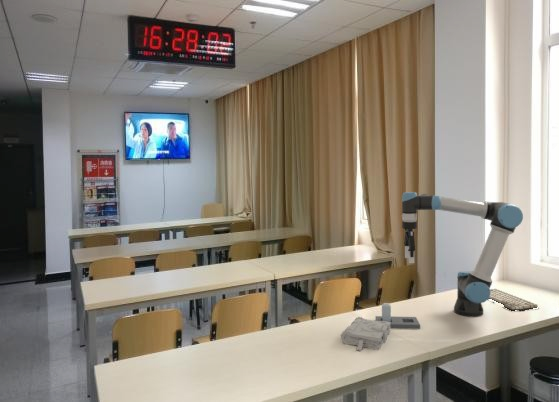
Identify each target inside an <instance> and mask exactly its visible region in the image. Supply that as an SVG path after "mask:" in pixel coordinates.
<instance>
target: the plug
mask: <svg viewBox="0 0 559 402" xmlns="http://www.w3.org/2000/svg"><path fill="white" fill-rule="evenodd" d="M391 310H392V307H391V304H390V303H388V302H383V303H382V304H381V316H382V321H386V322H391V317H392V316H391V315H392V313H391V312H392V311H391Z"/></svg>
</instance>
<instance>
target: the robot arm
mask: <svg viewBox="0 0 559 402" xmlns="http://www.w3.org/2000/svg"><path fill="white" fill-rule="evenodd" d="M418 211H443V212H444V211H445V212H451V213H457V214H463V215H468V216H469V215H470V216H475V217H480V218H481V220H482V219H483V220H488V221H490V223H489V226H490V229H491V230H490V231H489V234H488V237H487V239H486V241H485V244H484V246H483V248H482V250H481V254H480V255H479V258H478V260H477V262H476V265H475V267H474V269H473V270H472V271H471V270H469V271H468V270H467V271H466V270H465V271H464V270H462V271H458V272H457V276H456V278H457V286H456V287H457V295H456V297H457V299H456V301H455V303H454V307H453V313H455V314H456V315H459V316H464V317H472V318H473V317H481V316H483V315H484V307H483V303H485V302H486V301H489V300H488V299H489V297H490V289H491V286H492V284H493V280H492V275H493V273H494V270H495V268H496V266H497V264H498V261H499V259H500V257H501V255H502V253H503V249H504V247H505V245H506V242H507V241H508V238H509V236H510V235H511V234H512V235H513V234H514V232H515V230H516V228H518V226H520V225H521V223H522V222H523V219H524V214H523V211H522V209H521V208H520V207H519V206H517V205H516V204H514V203H507V202H503V201H501V202H500V201H483V202H479V201H473V200H466V199H461V198H452V197H445V196H440V195H433V194H428V193H421V194H420V195H418V193H417V192H416V191H405V192H403V193H402V198H401V213H402V214H401V215H400V216H401V219H402V222H401V227H402V229H404V240H403V241H404V242H403V244H404V259H408V264H415V251H416V243H415V242H416V241H415V231H413V230H415V229H417V228H418V227H417V226H418V223H417V220H418Z"/></svg>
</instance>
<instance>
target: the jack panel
mask: <svg viewBox="0 0 559 402" xmlns="http://www.w3.org/2000/svg"><path fill="white" fill-rule="evenodd" d="M375 321H382V315H379V316H378V315H375ZM389 329H407V330H408V329H410V330H411V329H413V330H414V329H415V330H418V329H419V330H420V329H421V323H420V322H419V320H418V318H417V317H416V316H391V324H390V328H389Z"/></svg>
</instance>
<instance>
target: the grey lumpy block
mask: <svg viewBox="0 0 559 402" xmlns="http://www.w3.org/2000/svg"><path fill="white" fill-rule="evenodd" d="M390 324H391V322H386V321H376V319H375V320H373V319H367V318H363V316H358V317H356V318H355V319H354V320H353V321H352V322H351V324H350V325H348V326H347V327H346V328H345V329H344V331H342V333H341V334H340V340H341V342H342V344H344V345H350V346H351V345H353V346H357V348H356V351H362V349H363V347H364V348H368V349H370V350H371V349H372V350H378V351H380V350H381V348H382V346H383V344H385V343H386V342H387V340H388V337H389V335H390V334H391V328H390Z"/></svg>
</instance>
